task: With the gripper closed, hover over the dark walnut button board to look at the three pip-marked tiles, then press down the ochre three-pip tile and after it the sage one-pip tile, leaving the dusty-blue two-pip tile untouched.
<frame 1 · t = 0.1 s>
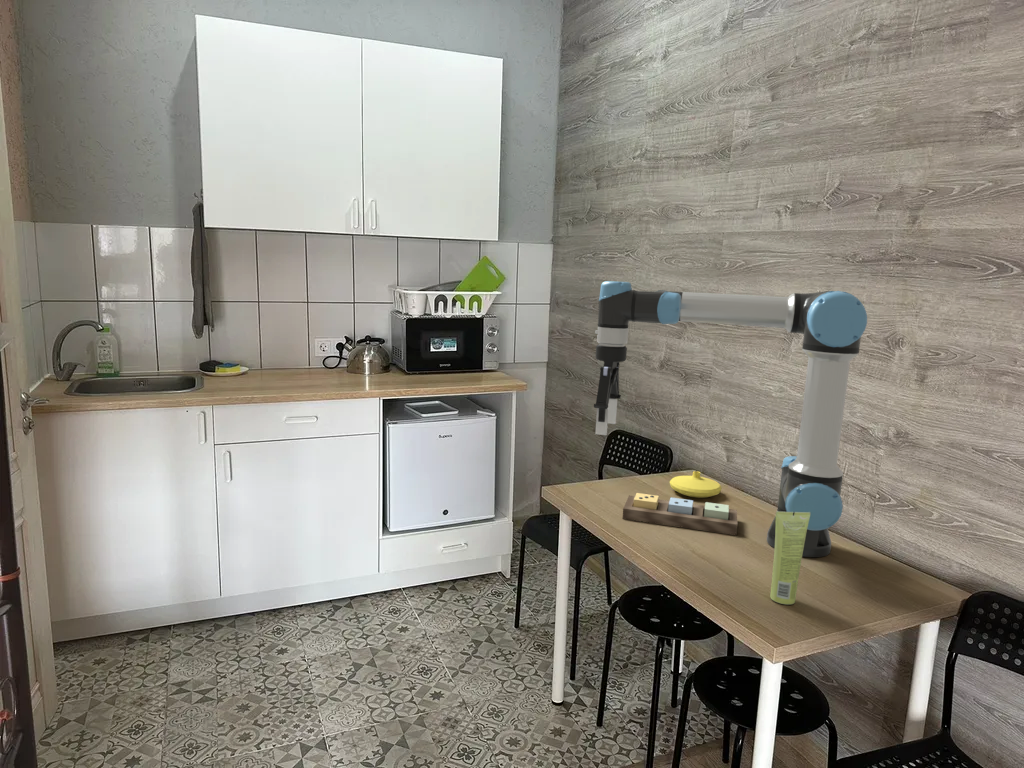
hand: (605, 428, 172), 28 cm above the table, fingers open, 13 cm apart
tile 3: (645, 502, 193), point 4 cm above the table, slide at 0.0 cm
board: (679, 519, 191), on the table
tile 2: (680, 507, 190), point 4 cm above the table, slide at 0.0 cm
tile 1: (716, 512, 187), point 4 cm above the table, slide at 0.0 cm
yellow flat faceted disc: (694, 494, 214), on the table
tube: (783, 601, 145), on the table
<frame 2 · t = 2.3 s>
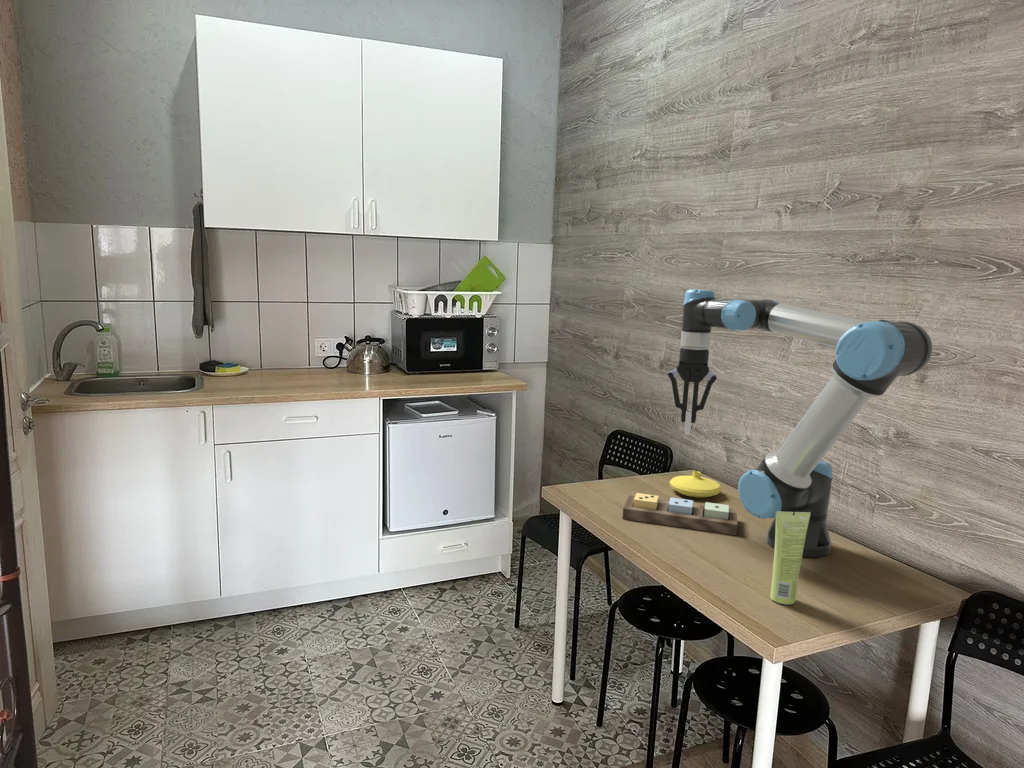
hand: (687, 433, 187), 24 cm above the table, fingers closed
nothing on the table moved.
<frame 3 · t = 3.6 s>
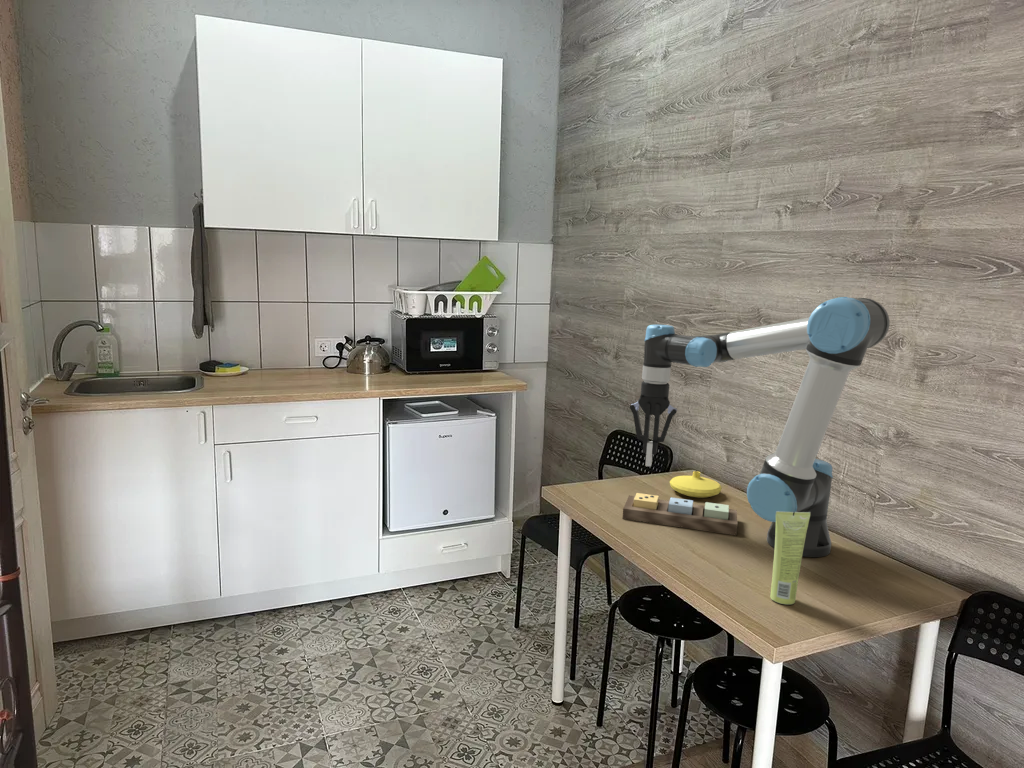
hand: (648, 464, 191), 14 cm above the table, fingers closed
nothing on the table moved.
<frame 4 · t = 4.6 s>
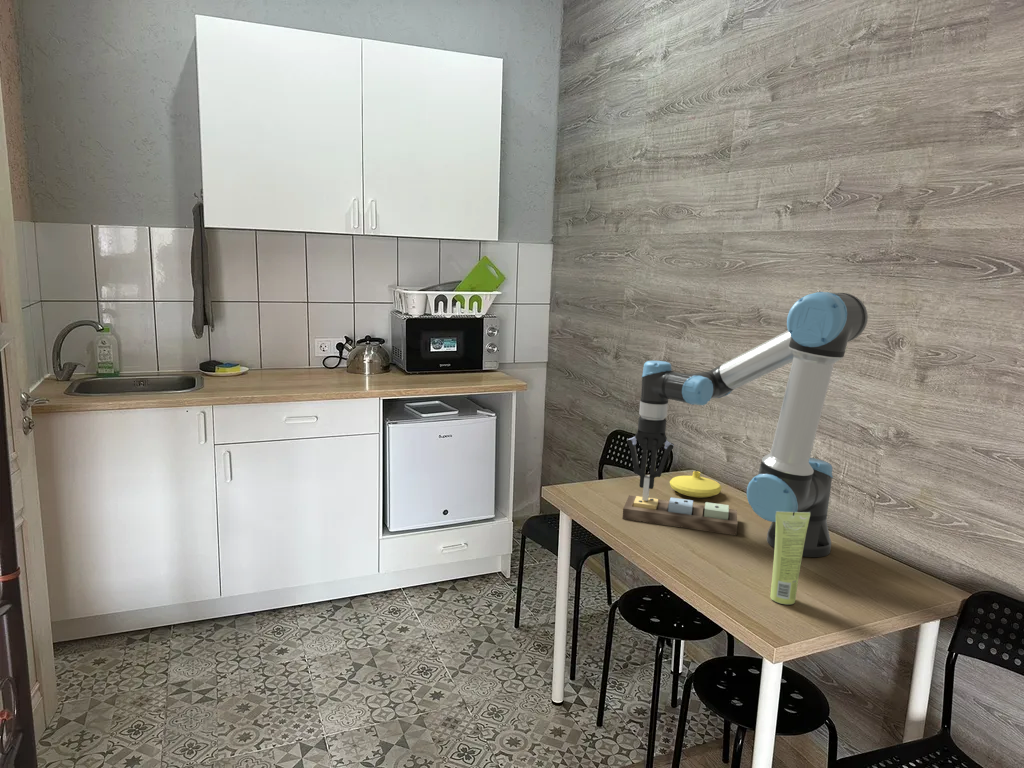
hand: (645, 498, 193), 5 cm above the table, fingers closed
tile 3: (645, 505, 193), point 3 cm above the table, slide at 1.0 cm, touching gripper
everything else where it was.
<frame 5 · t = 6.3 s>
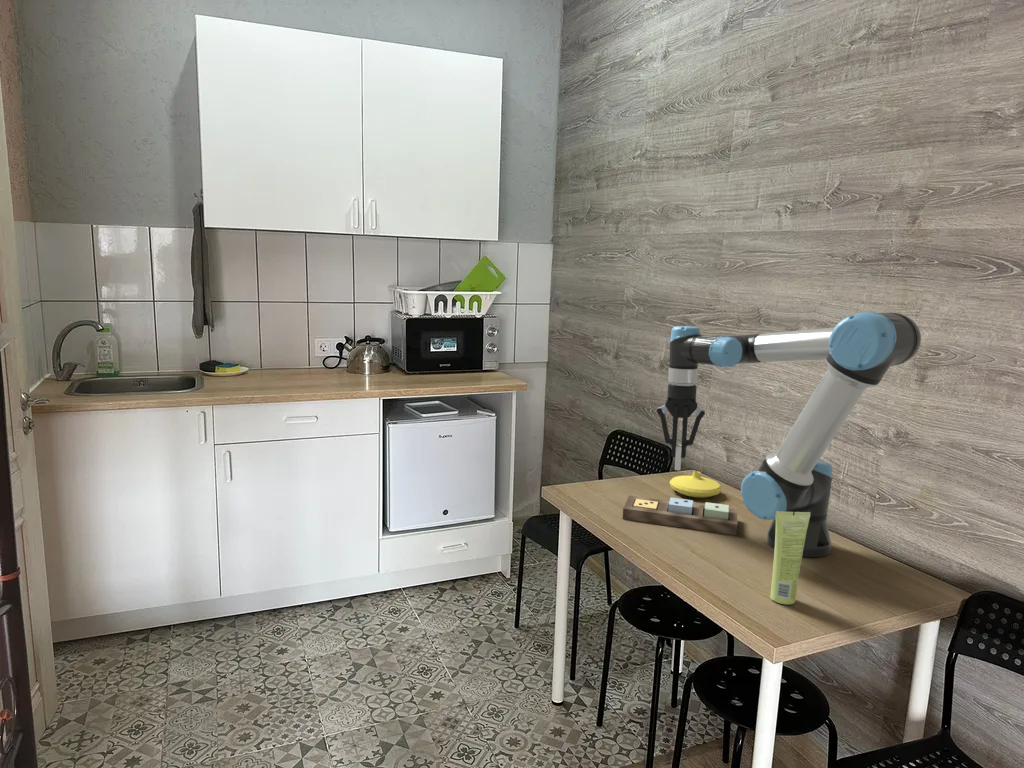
hand: (677, 468, 188), 15 cm above the table, fingers closed
tile 3: (645, 508, 193), point 2 cm above the table, slide at 1.8 cm
everything else where it was.
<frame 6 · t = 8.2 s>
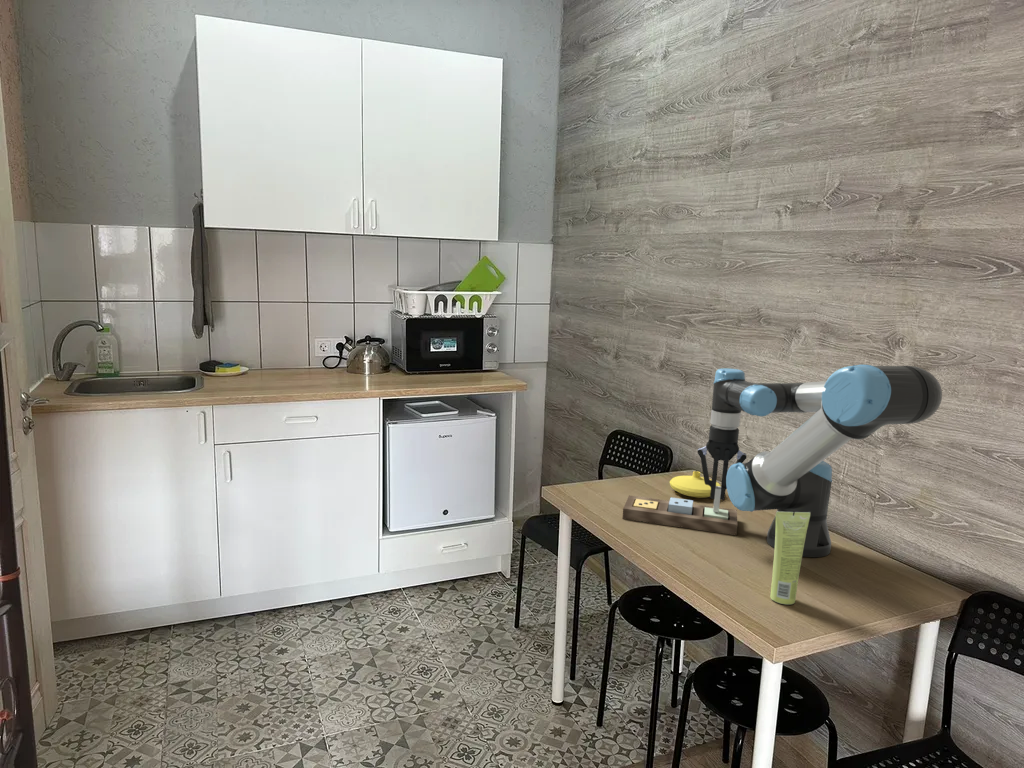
hand: (716, 510, 187), 4 cm above the table, fingers closed
tile 1: (715, 517, 188), point 2 cm above the table, slide at 1.5 cm, touching gripper
everything else where it was.
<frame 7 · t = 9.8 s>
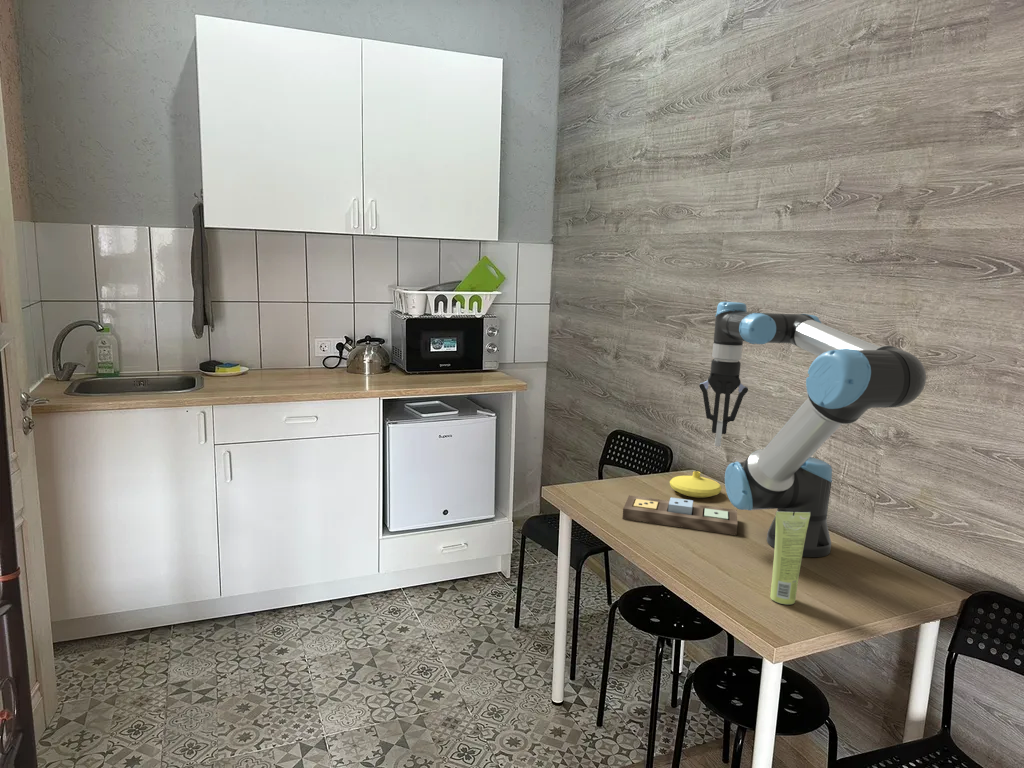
hand: (717, 444, 188), 21 cm above the table, fingers closed
tile 1: (715, 518, 188), point 2 cm above the table, slide at 1.8 cm
everything else where it was.
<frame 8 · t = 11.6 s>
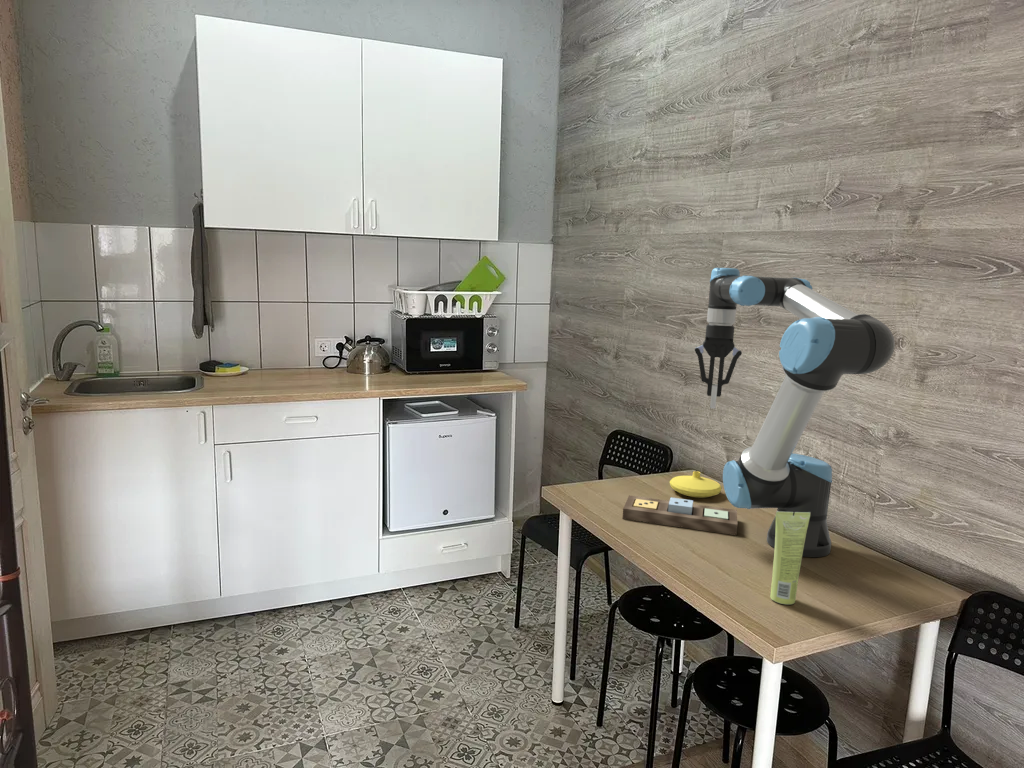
hand: (712, 407, 194), 30 cm above the table, fingers closed
nothing on the table moved.
at the end: tile 3 slide at 1.8 cm; tile 1 slide at 1.8 cm; tile 2 slide at 0.0 cm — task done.
